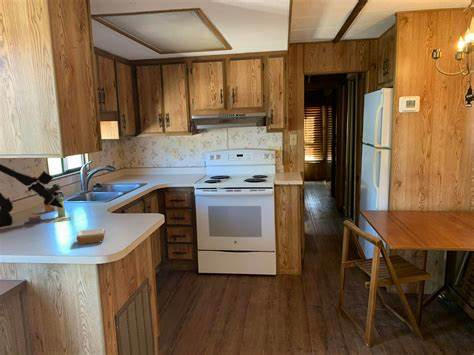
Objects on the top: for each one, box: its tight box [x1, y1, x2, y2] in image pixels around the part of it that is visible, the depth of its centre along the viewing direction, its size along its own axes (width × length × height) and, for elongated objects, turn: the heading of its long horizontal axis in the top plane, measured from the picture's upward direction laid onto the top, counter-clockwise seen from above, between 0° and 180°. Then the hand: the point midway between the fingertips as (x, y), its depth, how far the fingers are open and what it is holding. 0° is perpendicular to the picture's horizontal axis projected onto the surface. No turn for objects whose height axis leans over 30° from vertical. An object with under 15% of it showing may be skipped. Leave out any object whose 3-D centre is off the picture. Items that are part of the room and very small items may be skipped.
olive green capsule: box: [57, 196, 66, 218], centre depth 221 cm, size 4×4×12 cm
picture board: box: [41, 215, 72, 224], centre depth 216 cm, size 18×17×1 cm
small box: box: [43, 198, 58, 213], centre depth 241 cm, size 8×6×10 cm
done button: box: [29, 214, 39, 218], centre depth 211 cm, size 4×4×2 cm
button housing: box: [28, 214, 42, 224], centre depth 211 cm, size 6×6×4 cm
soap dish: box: [76, 228, 106, 245], centre depth 171 cm, size 12×10×5 cm
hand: (63, 206), depth 221 cm, fingers closed on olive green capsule, 4 cm apart
